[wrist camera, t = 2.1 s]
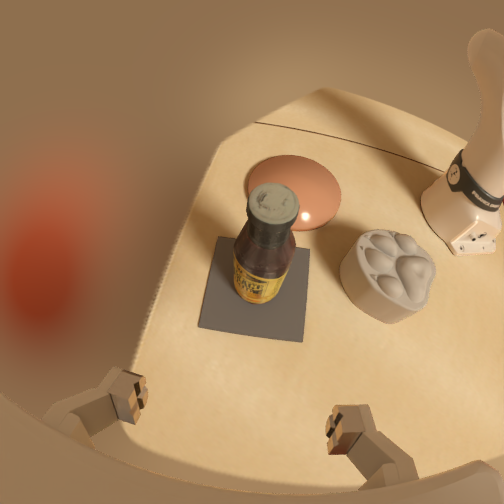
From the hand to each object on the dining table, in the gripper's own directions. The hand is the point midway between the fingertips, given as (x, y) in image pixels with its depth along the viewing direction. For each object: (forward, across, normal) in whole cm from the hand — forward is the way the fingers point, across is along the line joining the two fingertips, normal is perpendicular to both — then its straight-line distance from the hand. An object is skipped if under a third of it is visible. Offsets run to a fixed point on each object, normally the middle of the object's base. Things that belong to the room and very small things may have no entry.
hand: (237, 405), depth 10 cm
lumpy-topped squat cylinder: (+30, -18, +5) cm, 35 cm away
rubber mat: (+28, 0, +7) cm, 29 cm away
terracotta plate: (+40, -4, -5) cm, 41 cm away
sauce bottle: (+28, 0, +7) cm, 29 cm away
